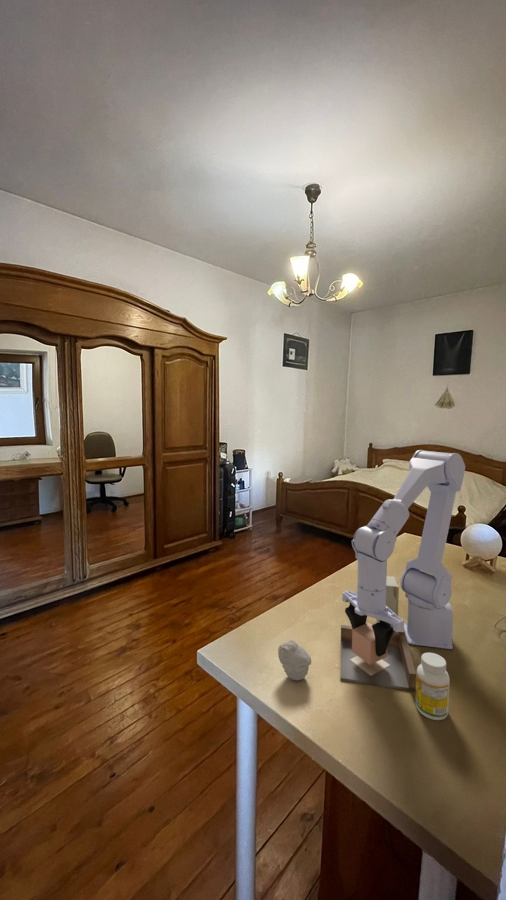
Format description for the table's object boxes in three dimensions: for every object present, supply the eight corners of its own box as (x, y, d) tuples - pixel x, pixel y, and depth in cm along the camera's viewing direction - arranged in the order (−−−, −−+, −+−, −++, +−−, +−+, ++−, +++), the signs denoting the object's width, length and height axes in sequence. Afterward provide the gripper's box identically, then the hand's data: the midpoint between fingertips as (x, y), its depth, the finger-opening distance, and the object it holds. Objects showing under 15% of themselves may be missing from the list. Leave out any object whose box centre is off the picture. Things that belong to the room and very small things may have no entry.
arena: (404, 646, 86) (404, 632, 86) (415, 691, 73) (416, 674, 72) (340, 638, 90) (341, 624, 89) (340, 680, 76) (340, 663, 76)
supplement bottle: (443, 726, 65) (446, 674, 64) (411, 710, 68) (413, 660, 67) (451, 707, 69) (453, 658, 68) (420, 693, 72) (422, 646, 71)
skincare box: (398, 636, 90) (399, 587, 89) (379, 634, 91) (380, 586, 90) (393, 621, 97) (395, 575, 95) (375, 620, 97) (377, 574, 96)
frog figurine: (285, 662, 81) (285, 631, 81) (316, 673, 78) (316, 641, 77) (272, 680, 76) (272, 647, 76) (304, 693, 73) (305, 658, 72)
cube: (368, 643, 83) (369, 622, 83) (386, 656, 79) (387, 634, 79) (351, 651, 81) (352, 629, 80) (369, 665, 77) (370, 641, 76)
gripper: (332, 576, 83) (331, 635, 84) (387, 605, 70) (385, 674, 72) (355, 569, 86) (354, 625, 88) (411, 595, 74) (409, 660, 75)
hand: (370, 646), depth 80 cm, fingers closed on cube, 5 cm apart
